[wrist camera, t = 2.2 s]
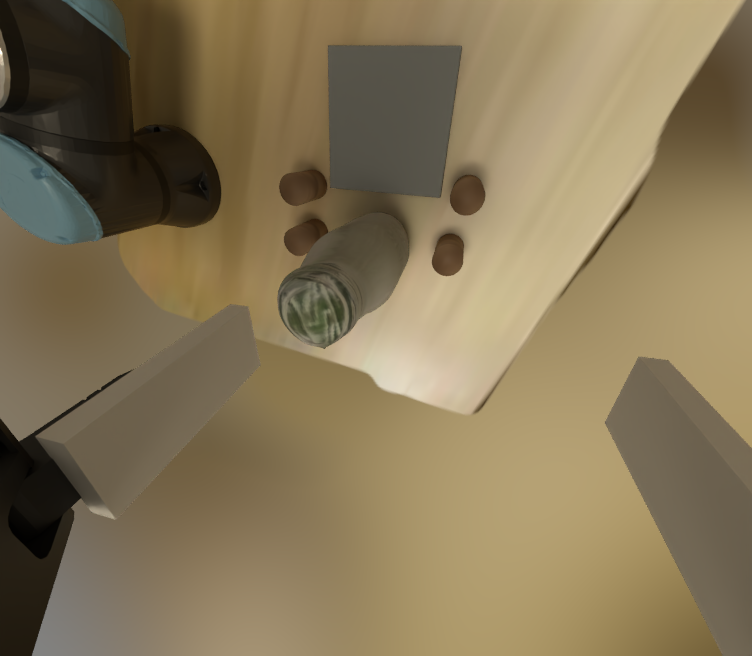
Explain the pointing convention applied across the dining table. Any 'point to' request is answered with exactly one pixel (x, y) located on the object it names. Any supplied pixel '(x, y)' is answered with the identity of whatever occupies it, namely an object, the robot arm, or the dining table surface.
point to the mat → (391, 117)
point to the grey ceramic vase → (343, 278)
